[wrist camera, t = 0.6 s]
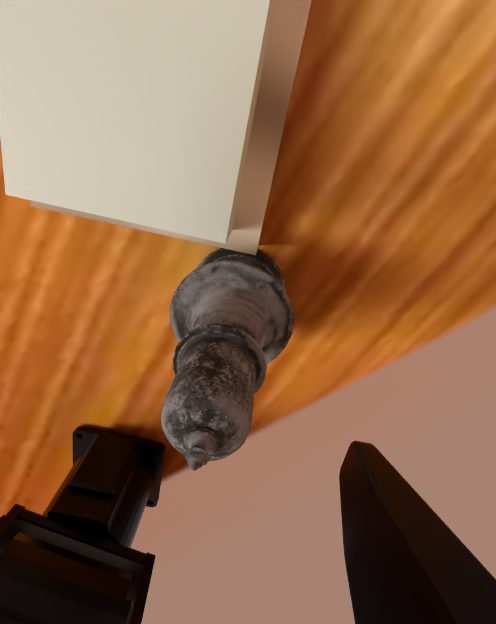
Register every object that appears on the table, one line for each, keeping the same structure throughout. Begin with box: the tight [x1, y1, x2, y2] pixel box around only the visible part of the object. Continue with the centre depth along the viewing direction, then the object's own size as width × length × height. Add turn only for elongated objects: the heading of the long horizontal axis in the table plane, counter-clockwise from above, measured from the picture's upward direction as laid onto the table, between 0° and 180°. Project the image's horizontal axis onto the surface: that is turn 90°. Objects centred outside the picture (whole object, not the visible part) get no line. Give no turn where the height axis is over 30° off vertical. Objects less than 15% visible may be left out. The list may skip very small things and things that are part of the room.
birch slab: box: [30, 0, 312, 255], centre depth 16 cm, size 11×11×2 cm
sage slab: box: [0, 0, 275, 244], centre depth 14 cm, size 9×9×2 cm
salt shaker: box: [161, 248, 294, 470], centre depth 15 cm, size 6×6×12 cm
